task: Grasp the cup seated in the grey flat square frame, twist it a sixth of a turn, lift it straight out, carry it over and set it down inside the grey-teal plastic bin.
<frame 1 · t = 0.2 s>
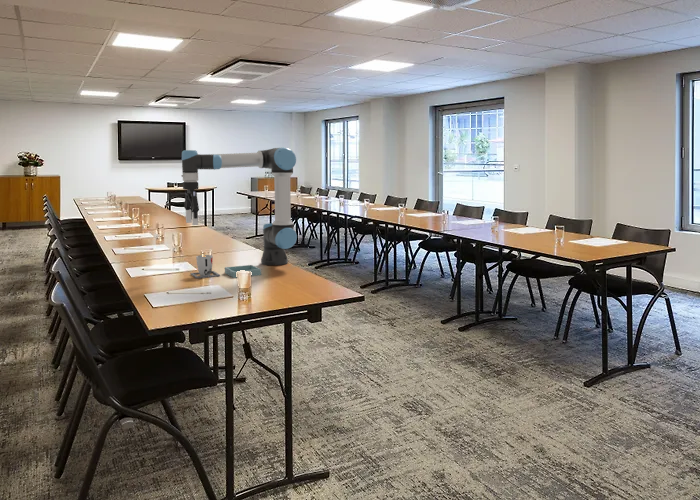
hand: (192, 223, 295), 27 cm above the table, fingers open, 13 cm apart
bin: (242, 273, 302), on the table
cup: (205, 275, 299), resting in grey flat square frame
grey flat square frame: (205, 275, 299), on the table
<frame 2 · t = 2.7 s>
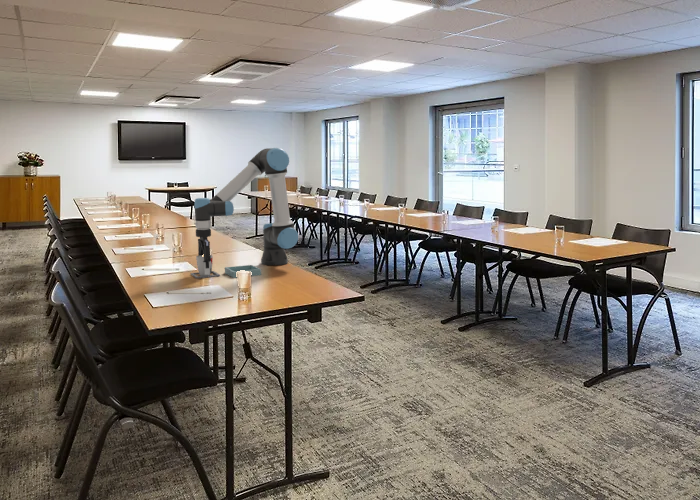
hand: (205, 273, 299), 1 cm above the table, fingers closed on cup, 8 cm apart
cup: (205, 275, 299), resting in grey flat square frame, touching gripper
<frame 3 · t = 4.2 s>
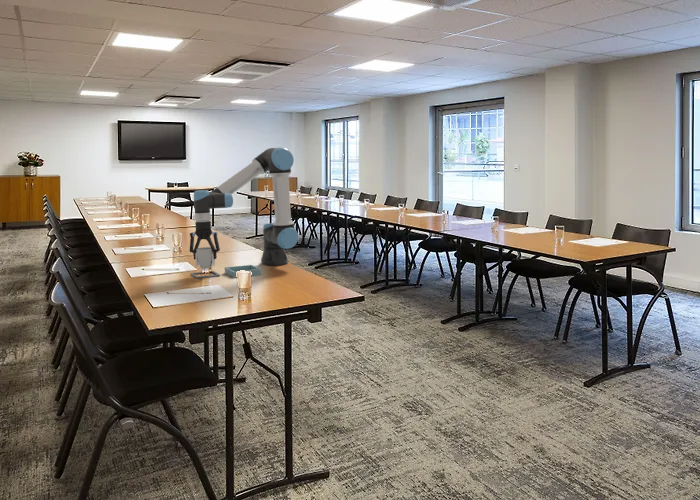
hand: (205, 265, 298), 5 cm above the table, fingers closed on cup, 8 cm apart
cup: (205, 268, 299), point 4 cm above the table, touching gripper
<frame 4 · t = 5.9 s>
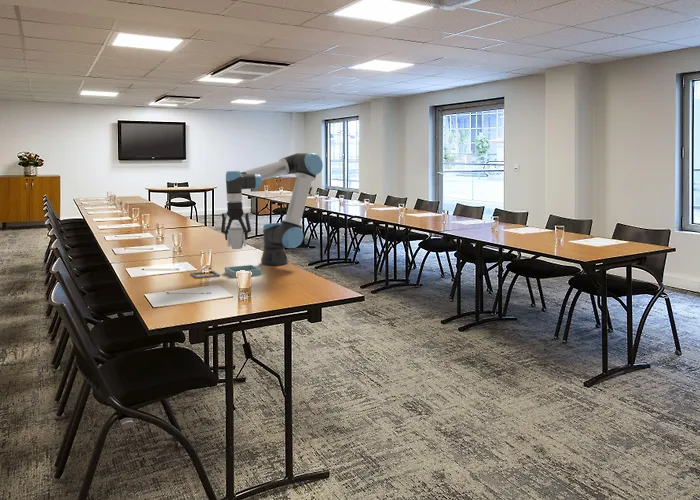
hand: (236, 246, 300), 15 cm above the table, fingers closed on cup, 8 cm apart
cup: (237, 248, 300), point 13 cm above the table, touching gripper
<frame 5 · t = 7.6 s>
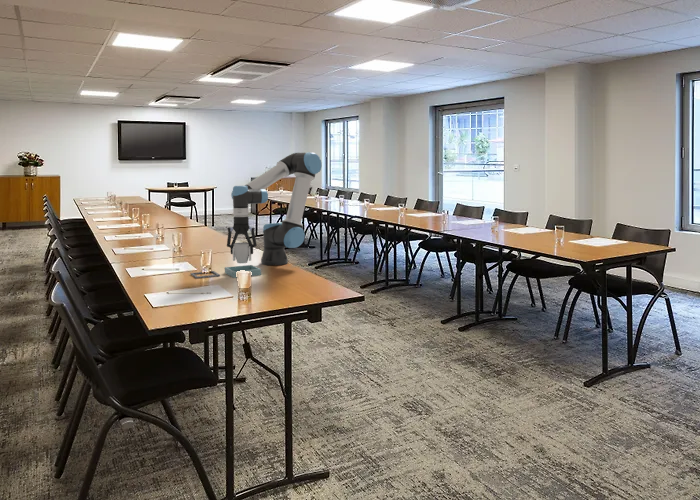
hand: (242, 260, 301), 7 cm above the table, fingers closed on cup, 8 cm apart
cup: (242, 262, 301), point 6 cm above the table, touching gripper
when the fingers open (4 cm above the table, at t = 9.1 s): cup drops 2 cm, resting on bin.
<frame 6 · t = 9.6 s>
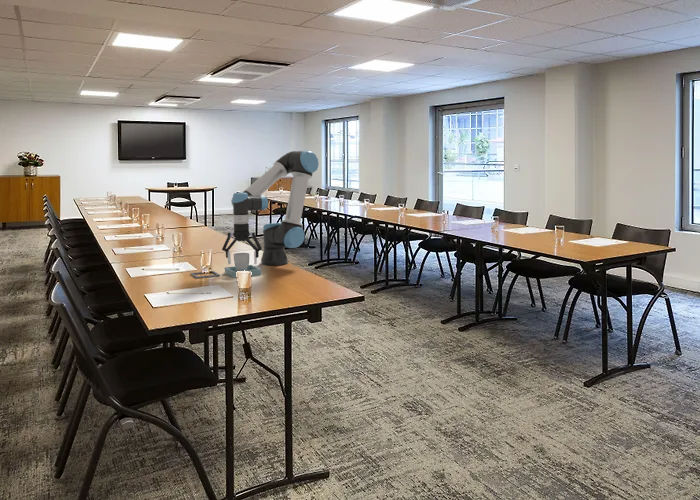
hand: (242, 264, 301), 5 cm above the table, fingers open, 13 cm apart
cup: (242, 273, 302), resting on bin
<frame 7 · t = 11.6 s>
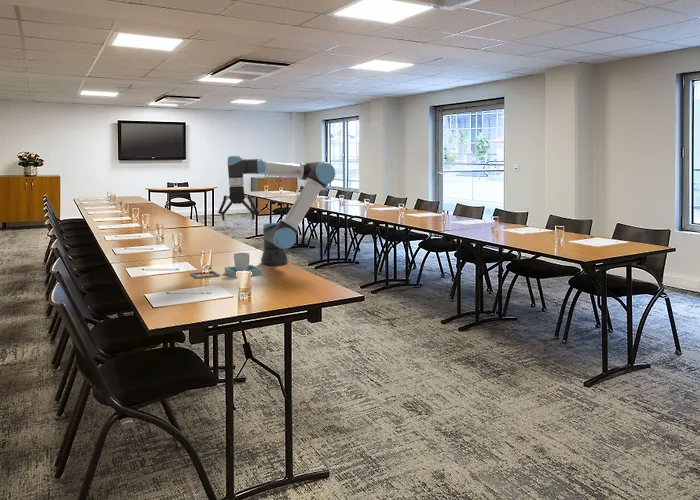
hand: (239, 226, 308), 24 cm above the table, fingers open, 13 cm apart
nothing on the table moved.
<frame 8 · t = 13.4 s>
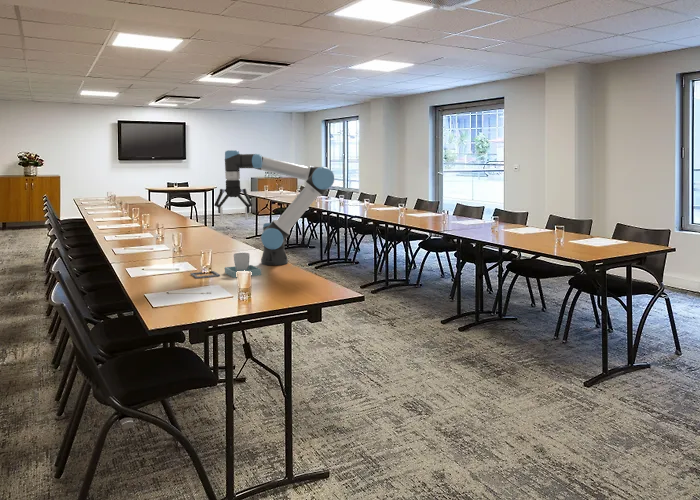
hand: (234, 219, 315), 27 cm above the table, fingers open, 13 cm apart
nothing on the table moved.
at the end: cup inside the target area on the bin (0.4 cm from its centre), point 0.3 cm above the bin's base; cup tilted 0°; the gripper is holding nothing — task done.
